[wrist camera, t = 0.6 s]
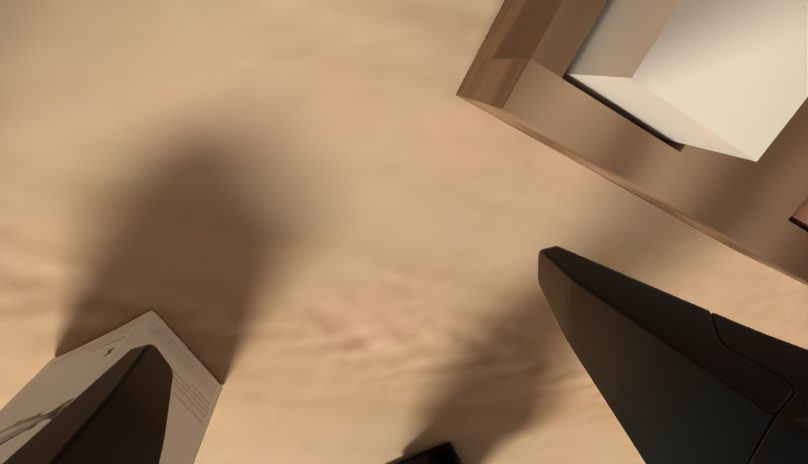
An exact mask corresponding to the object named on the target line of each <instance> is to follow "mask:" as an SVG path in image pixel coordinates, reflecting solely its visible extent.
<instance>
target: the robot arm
mask: <svg viewBox="0 0 808 464" xmlns="http://www.w3.org/2000/svg"><path fill="white" fill-rule="evenodd" d="M538 279H539V284H540V286H541V288H542V291H543V293H544V295H545V297H546V299H547V301H548V303H549V305H550V307H551V309H552V311H553V313H554V315H555V317H556V319H557V321H558V323H559V325H560V327H561V329H562V331H563V333H564V335H565V337H566V339H567V341H568V342H569V344H570V346H571V347H572V349H573V351H574V352H575V354H576V355H577V357H578V358H579V360H580V362H581V363H582V365H583V366H584V368H585V369H586V371H587V372H588V374H589V376H590V377H591V379H592V380H593V382H594V383H595V385H596V386H597V388H598V390H599V391H600V393H601V394H602V396H603V397H604V399H605V400H606V402H607V404H608V405H609V407H610V408H611V410H612V411H613V413H614V414H615V416H616V418H617V419H618V421H619V422H620V424H621V425H622V427H623V428H624V430H625V432H626V433H627V435H628V436H629V438H630V439H631V441H632V443H633V444H634V446H635V447H636V449H637V450H638V452H639V453H640V455H641V457H642V458H643V460H644V461H645V463H646V464H808V350H806V349H804V348H801V347H798V346H796V345H793V344H790V343H788V342H785V341H782V340H780V339H777V338H774V337H772V336H769V335H766V334H764V333H761V332H759V331H756V330H754V329H751V328H749V327H747V326H744V325H742V324H739V323H737V322H734V321H732V320H730V319H727V318H725V317H723V316H720V315H718V314H716V313H710V311H708V310H706V309H704V308H701V307H699V306H697V305H694V304H692V303H690V302H687V301H685V300H682V299H680V298H678V297H675V296H673V295H671V294H668V293H666V292H664V291H661V290H659V289H657V288H654V287H652V286H650V285H647V284H645V283H643V282H640V281H638V280H636V279H633V278H631V277H629V276H626V275H624V274H622V273H619V272H617V271H615V270H612V269H610V268H608V267H605V266H603V265H601V264H598V263H596V262H594V261H591V260H589V259H587V258H584V257H582V256H579V255H577V254H575V253H572V252H570V251H568V250H565V249H563V248H561V247H558V246H554V247H550V248H546V249H542V250H541V251H540V252H539V258H538ZM172 381H173V372H172V368H171V366H170V365H169V363H168V362H167V361H166V359H165V358H164V357H163V355H162V354H161V353H160V351H159V350H158V348H157V347H156V346H154V345H152V344H147V345H143V346H139V347H135V348H133V349H131V350H129V351H128V352H127V353H126V354H125V355H124V356H123V357H122V358H120V359H119V360H118V361H117V362H116V363H115V364H114V365H113V366H111V367H110V368H109V369H108V370H107V371H106V372H105V373H104V374H102V375H101V376H100V377H99V378H98V379H97V380H96V381H95V382H93V383H92V384H91V385H90V386H89V387H88V388H87V389H86V390H84V391H83V392H82V393H81V394H80V395H79V396H78V397H77V398H75V399H74V400H73V401H72V402H71V403H70V404H69V405H68V406H67V407H65V408H64V409H63V410H62V411H61V412H60V413H59V414H58V415H56V416H55V417H54V418H53V419H52V420H51V421H50V422H49V423H47V424H46V425H45V426H44V427H43V428H42V429H41V430H40V431H38V432H37V433H36V434H35V435H34V436H33V437H32V438H31V439H29V440H28V441H27V442H26V443H25V444H24V445H23V446H22V447H20V448H19V449H18V450H17V451H16V452H15V453H14V454H13V455H11V456H10V457H9V458H8V459H7V460H6V461H5V462H4V463H2V464H159V462H160V457H161V453H162V449H163V444H164V439H165V433H166V426H167V418H168V411H169V403H170V396H171V388H172ZM400 464H463V462H462V460H461V458H460V457H459V455H458V453H457V451H456V450H455V448H454V446H453V445H452V444H451V443H446V444H443V445H441V446H439V447H436V448H434V449H432V450H429V451H427V452H425V453H422V454H420V455H418V456H416V457H413V458H411V459H409V460H406V461H404V462H402V463H400Z"/></svg>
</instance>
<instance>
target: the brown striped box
mask: <svg viewBox="0 0 808 464" xmlns="http://www.w3.org/2000/svg"><path fill="white" fill-rule="evenodd" d="M607 1H608V0H505V2H504V3H503V5H502V7H501V9H500V11H499V13H498V15H497V17H496V19H495V21H494V23H493V25H492V27H491V29H490V31H489V32H488V34H487V36H486V38H485V40H484V42H483V44H482V46H481V48H480V50H479V52H478V54H477V56H476V58H475V59H474V61H473V63H472V65H471V67H470V69H469V71H468V73H467V75H466V77H465V79H464V81H463V83H462V85H461V86H460V88H459V90H458V92H457V94H456V95H457V96H459V97H461V98H462V99H464V100H466V101H468V102H470V103H471V104H473V105H475V106H477V107H479V108H480V109H482V110H484V111H486V112H488V113H489V114H491V115H493V116H495V117H497V118H498V119H500V120H502V121H504V122H506V123H507V124H509V125H511V126H513V127H515V128H516V129H518V130H520V131H522V132H524V133H525V134H527V135H529V136H531V137H533V138H534V139H536V140H538V141H540V142H541V143H543V144H545V145H547V146H549V147H550V148H552V149H554V150H556V151H558V152H559V153H561V154H563V155H565V156H567V157H568V158H570V159H572V160H574V161H576V162H577V163H579V164H581V165H583V166H585V167H586V168H588V169H590V170H592V171H594V172H595V173H597V174H599V175H601V176H603V177H604V178H606V179H608V180H610V181H612V182H613V183H615V184H617V185H619V186H621V187H622V188H624V189H626V190H628V191H630V192H631V193H633V194H635V195H637V196H639V197H640V198H642V199H644V200H646V201H648V202H649V203H651V204H653V205H655V206H657V207H658V208H660V209H662V210H664V211H665V212H667V213H669V214H671V215H673V216H674V217H676V218H678V219H680V220H682V221H683V222H685V223H687V224H689V225H691V226H692V227H694V228H696V229H698V230H700V231H701V232H703V233H705V234H707V235H709V236H710V237H712V238H714V239H716V240H718V241H719V242H721V243H723V244H725V245H727V246H728V247H730V248H732V249H734V250H736V251H737V252H739V253H741V254H743V255H745V256H748V257H750V258H752V259H754V260H756V261H758V262H760V263H762V264H764V265H766V266H768V267H770V268H772V269H774V270H777V271H779V272H781V273H783V274H785V275H787V276H789V277H791V278H793V279H795V280H797V281H799V282H801V283H803V284H805V285H808V232H806V231H805V230H803V229H802V228H800V227H798V226H797V225H795V224H794V223H792V222H790V221H789V220H788V219H789V218H790V217H791V216H792V215H793V214H794V212H795V211H796V210H797V209H798V208H799V207H800V205H801V204H802V203H803V202H804V201H805V199H806V198H807V197H808V97H807V98H806V100H805V101H804V102H803V104H802V105H801V106H800V107H799V109H798V110H797V111H796V112H795V114H794V115H793V116H792V118H791V119H790V120H789V121H788V123H787V124H786V125H785V126H784V128H783V129H782V130H781V132H780V133H779V134H778V135H777V137H776V138H775V139H774V141H773V142H772V143H771V144H770V146H769V147H768V148H767V149H766V151H765V152H764V153H763V155H762V156H761V157H760V158H759V160H758V161H757V162H756V161H752V160H748V159H744V158H740V157H736V156H732V155H727V154H723V153H719V152H715V151H711V150H707V149H703V148H699V147H695V146H691V145H686V144H682V143H678V142H674V141H670V140H666V139H662V138H658V137H655V136H653V135H652V134H650V133H648V132H647V131H645V130H644V129H642V128H641V127H639V126H637V125H636V124H634V123H633V122H631V121H629V120H628V119H626V118H625V117H623V116H621V115H620V114H618V113H617V112H615V111H613V110H612V109H610V108H609V107H607V106H605V105H604V104H602V103H601V102H599V101H597V100H596V99H594V98H593V97H591V96H589V95H588V94H586V93H585V92H583V91H581V90H580V89H578V88H577V87H575V86H574V85H572V84H570V83H569V82H567V81H566V80H564V79H562V77H563V75H564V74H565V72H566V70H567V68H568V67H569V65H570V63H571V62H572V60H573V58H574V57H575V55H576V53H577V52H578V50H579V48H580V46H581V45H582V43H583V41H584V40H585V38H586V36H587V35H588V33H589V31H590V30H591V28H592V26H593V24H594V23H595V21H596V19H597V18H598V16H599V14H600V13H601V11H602V9H603V8H604V6H605V4H606V2H607Z"/></svg>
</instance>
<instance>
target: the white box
mask: <svg viewBox="0 0 808 464" xmlns="http://www.w3.org/2000/svg"><path fill="white" fill-rule="evenodd" d="M562 79H564V80H566V81H567V82H569V83H570V84H572V85H574V86H575V87H577V88H578V89H580V90H581V91H583V92H585V93H586V94H588V95H589V96H591V97H593V98H594V99H596V100H597V101H599V102H601V103H602V104H604V105H605V106H607V107H609V108H610V109H612V110H613V111H615V112H617V113H618V114H620V115H621V116H623V117H625V118H626V119H628V120H629V121H631V122H633V123H634V124H636V125H637V126H639V127H641V128H642V129H644V130H645V131H647V132H648V133H650V134H652V135H653V136H655V137H658V138H662V139H666V140H670V141H674V142H678V143H682V144H686V145H691V146H695V147H699V148H703V149H707V150H711V151H715V152H719V153H723V154H727V155H732V156H736V157H740V158H744V159H748V160H752V161H756V162H757V161H758V160H759V158H760V157H761V156H762V155H763V153H764V152H765V151H766V149H767V148H768V147H769V146H770V144H771V143H772V142H773V141H774V139H775V138H776V137H777V135H778V134H779V133H780V132H781V130H782V129H783V128H784V126H785V125H786V124H787V123H788V121H789V120H790V119H791V118H792V116H793V115H794V114H795V112H796V111H797V110H798V109H799V107H800V106H801V105H802V104H803V102H804V101H805V100H806V98H807V97H808V0H608V1H607V2H606V4H605V6H604V8H603V9H602V11H601V13H600V14H599V16H598V18H597V19H596V21H595V23H594V24H593V26H592V28H591V30H590V31H589V33H588V35H587V36H586V38H585V40H584V41H583V43H582V45H581V46H580V48H579V50H578V52H577V53H576V55H575V57H574V58H573V60H572V62H571V63H570V65H569V67H568V68H567V70H566V72H565V74H564V75H563V77H562Z"/></svg>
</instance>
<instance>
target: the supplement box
mask: <svg viewBox="0 0 808 464" xmlns="http://www.w3.org/2000/svg"><path fill="white" fill-rule="evenodd" d="M147 344H152V345H154V346H156V347H157V348H158V350H159V351H160V353H161V354H162V355H163V357H164V358H165V359H166V361H167V362H168V363H169V365H170V366H171V368H172V372H173V381H172V388H171V396H170V403H169V411H168V418H167V426H166V433H165V439H164V444H163V449H162V453H161V457H160V462H159V464H194V461H195V458H196V456H197V453H198V450H199V448H200V445H201V442H202V440H203V437H204V434H205V432H206V429H207V427H208V424H209V421H210V419H211V416H212V413H213V411H214V408H215V406H216V403H217V400H218V398H219V395H220V392H221V390H222V386H221V385H220V384H219V382H218V381H217V380H216V379H215V378H214V377H213V375H212V374H211V373H210V372H209V371H208V370H207V369H206V368H205V367H204V366H203V365H202V363H201V362H200V361H199V360H198V359H197V358H196V357H195V356H194V355H193V353H192V352H191V351H190V350H189V349H188V348H187V347H186V345H185V344H184V343H183V342H182V341H181V340H180V339H179V338H178V337H177V336H176V334H175V333H174V332H173V331H172V330H171V329H170V328H169V327H168V326H167V325H166V323H165V322H164V321H163V320H162V319H161V318H160V317H159V316H158V315H157V314H156V313H155V312H153V311H148V312H147V313H145V314H143V315H141V316H140V317H138V318H136V319H134V320H132V321H131V322H129V323H127V324H125V325H123V326H121V327H119V328H117V329H115V330H113V331H111V332H109V333H107V334H105V335H103V336H101V337H99V338H97V339H95V340H93V341H91V342H89V343H87V344H85V345H82V346H80V347H78V348H76V349H74V350H72V351H70V352H67V353H65V354H63V355H61V356H58V357H56V358H54V359H52V360H51V361H50V362H48V363H47V364H46V365H45V366H44V367H43V368H42V369H41V371H40V372H39V373H38V374H37V375H36V376H35V377H34V378H33V379H32V380H31V381H30V382H29V383H27V384H26V385H25V386H24V387H23V388H22V389H21V391H20V392H19V393H18V394H17V395H16V396H15V397H14V398H13V399H11V400H10V401H9V402H8V403H7V404H6V406H5V407H4V408H3V409H2V410H1V411H0V464H2V463H4V462H5V461H6V460H7V459H8V458H9V457H10V456H11V455H13V454H14V453H15V452H16V451H17V450H18V449H19V448H20V447H22V446H23V445H24V444H25V443H26V442H27V441H28V440H29V439H31V438H32V437H33V436H34V435H35V434H36V433H37V432H38V431H40V430H41V429H42V428H43V427H44V426H45V425H46V424H47V423H49V422H50V421H51V420H52V419H53V418H54V417H55V416H56V415H58V414H59V413H60V412H61V411H62V410H63V409H64V408H65V407H67V406H68V405H69V404H70V403H71V402H72V401H73V400H74V399H75V398H77V397H78V396H79V395H80V394H81V393H82V392H83V391H84V390H86V389H87V388H88V387H89V386H90V385H91V384H92V383H93V382H95V381H96V380H97V379H98V378H99V377H100V376H101V375H102V374H104V373H105V372H106V371H107V370H108V369H109V368H110V367H111V366H113V365H114V364H115V363H116V362H117V361H118V360H119V359H120V358H122V357H123V356H124V355H125V354H126V353H127V352H128V351H129V350H131V349H133V348H135V347H139V346H143V345H147Z"/></svg>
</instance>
